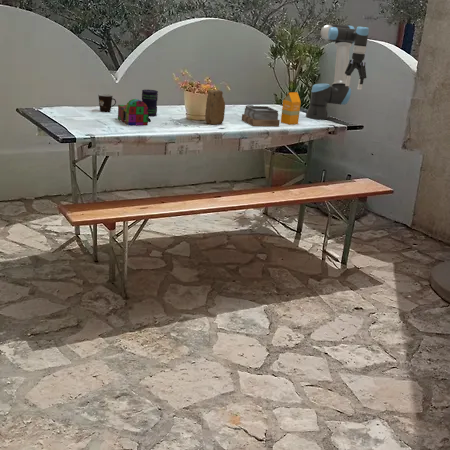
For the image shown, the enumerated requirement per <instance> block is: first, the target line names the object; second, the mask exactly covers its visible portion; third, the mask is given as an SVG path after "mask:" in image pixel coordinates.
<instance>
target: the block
mask: <svg viewBox="0 0 450 450" xmlns="http://www.w3.org/2000/svg"><path fill="white" fill-rule="evenodd" d="M223 94H224V93H223V91H222V90H218V89H211V90H208V92H207V97H206V101H205V104H206V105H205V111H204V112H205V116H204V121H205V122H206V123H207V124H208V125H222V124H223V121H224V119H225V113H226V110H225V109H226V102H225V99H224V97H223V96H224V95H223Z"/></svg>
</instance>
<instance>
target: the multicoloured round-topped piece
mask: <svg viewBox="0 0 450 450" xmlns="http://www.w3.org/2000/svg"><path fill="white" fill-rule="evenodd" d="M117 119H118V120H119V121H121V122H122V123H124V124H125V125H127V126H128V127H131V126H138V127H140V126H141V127H142V126H148V125H149V123H151V122H152V120H151V119H150V117H148V107H147V105H146V104H145V103H144V102H142V100H140V99H139V98H131V99H130V100H129V101H128V102H127V103H126V104H118V105H117Z"/></svg>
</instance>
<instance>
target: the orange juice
mask: <svg viewBox="0 0 450 450" xmlns="http://www.w3.org/2000/svg"><path fill="white" fill-rule="evenodd" d="M301 102H302V101H301V98H300V96H299V93H298V91H294V92H293V91H292V92H291V91H290V92H288V93H287V94H286V95H285V97H284V99H283V100H282V108H281V115H280V124H285V125H298V124H299V120H300V119H299V118H300V112H301V111H300V110H301V105H302V104H301Z"/></svg>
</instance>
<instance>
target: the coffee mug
mask: <svg viewBox="0 0 450 450" xmlns="http://www.w3.org/2000/svg"><path fill="white" fill-rule="evenodd" d="M113 95H114V94H113ZM113 95H112V94H110V93H108V94H107V93H99V94H98V105H99V106H98V107H99V112H100V113H110V112H111V111H112V108H113V107H114V106H116V104H117V100H116V99H115V98H113ZM113 100H114V103H113V102H112V101H113ZM112 103H113V104H112Z"/></svg>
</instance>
